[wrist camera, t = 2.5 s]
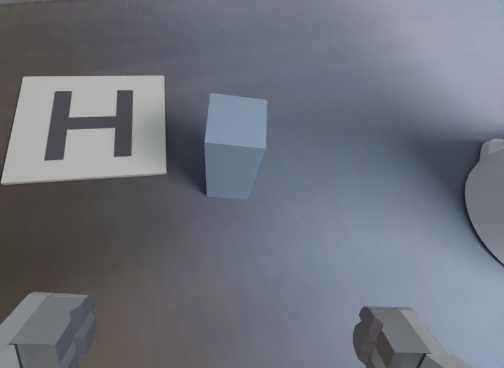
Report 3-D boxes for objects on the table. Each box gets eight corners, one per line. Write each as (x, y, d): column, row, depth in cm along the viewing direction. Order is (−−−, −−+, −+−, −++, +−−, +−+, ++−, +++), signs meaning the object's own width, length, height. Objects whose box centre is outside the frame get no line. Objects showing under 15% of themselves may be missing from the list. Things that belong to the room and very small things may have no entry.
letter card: (164, 78, 32) (163, 75, 31) (166, 174, 27) (166, 172, 27) (25, 79, 29) (23, 76, 29) (3, 185, 25) (0, 182, 25)
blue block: (249, 163, 29) (267, 99, 20) (247, 199, 28) (266, 148, 18) (210, 159, 29) (210, 93, 20) (206, 196, 27) (204, 142, 18)
